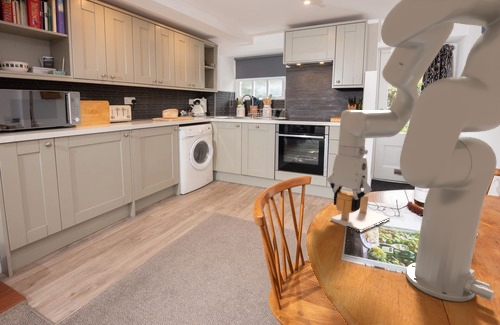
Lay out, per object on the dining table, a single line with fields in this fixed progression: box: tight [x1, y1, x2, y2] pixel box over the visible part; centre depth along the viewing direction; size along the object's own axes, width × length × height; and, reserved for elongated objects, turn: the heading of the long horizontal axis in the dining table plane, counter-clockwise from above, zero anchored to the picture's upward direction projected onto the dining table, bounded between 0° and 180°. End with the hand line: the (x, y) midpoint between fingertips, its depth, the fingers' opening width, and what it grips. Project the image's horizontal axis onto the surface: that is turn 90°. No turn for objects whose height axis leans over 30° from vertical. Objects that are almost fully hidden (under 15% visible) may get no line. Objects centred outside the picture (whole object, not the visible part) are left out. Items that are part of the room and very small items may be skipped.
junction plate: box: [330, 194, 390, 230], centre depth 95 cm, size 11×16×7 cm
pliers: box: [406, 201, 424, 216], centre depth 99 cm, size 12×20×3 cm, turn 165°
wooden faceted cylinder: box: [335, 190, 356, 213], centre depth 93 cm, size 6×6×5 cm
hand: (346, 206), depth 93 cm, fingers closed on wooden faceted cylinder, 5 cm apart
